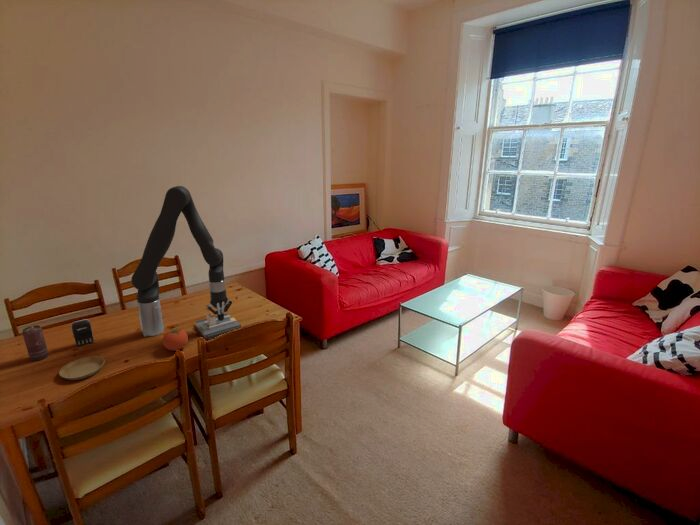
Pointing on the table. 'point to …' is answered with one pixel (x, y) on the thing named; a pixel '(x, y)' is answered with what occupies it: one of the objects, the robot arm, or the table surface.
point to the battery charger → (82, 332)
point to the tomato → (175, 339)
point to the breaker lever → (211, 320)
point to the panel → (217, 325)
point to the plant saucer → (82, 368)
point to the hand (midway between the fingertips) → (221, 320)
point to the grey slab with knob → (218, 332)
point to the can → (35, 343)
